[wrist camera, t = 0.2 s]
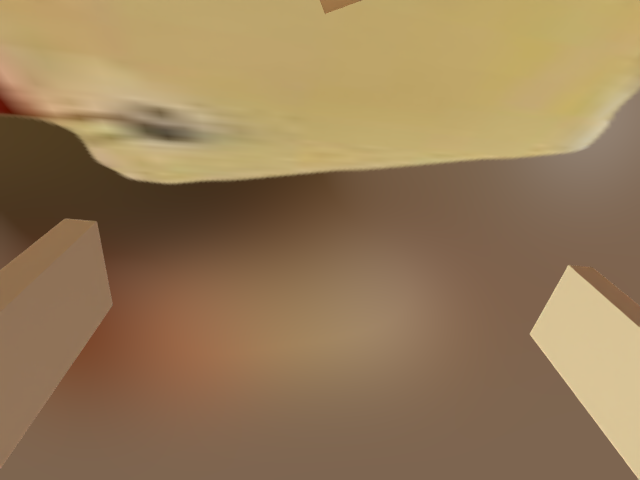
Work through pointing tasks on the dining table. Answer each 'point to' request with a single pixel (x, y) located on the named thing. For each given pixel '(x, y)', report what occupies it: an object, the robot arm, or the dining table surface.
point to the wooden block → (335, 4)
